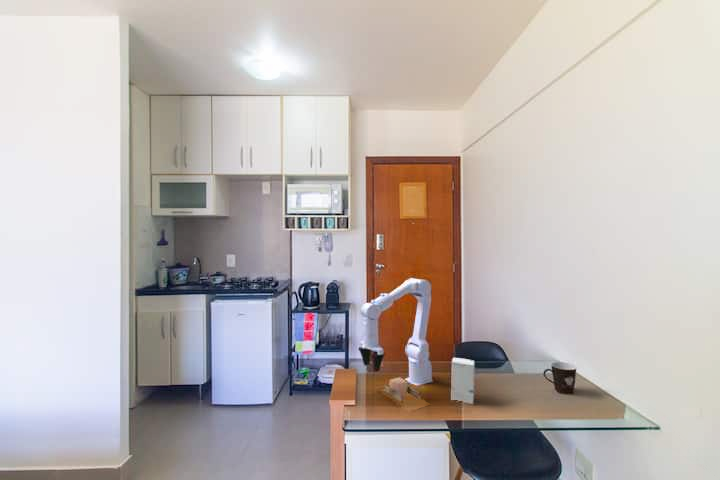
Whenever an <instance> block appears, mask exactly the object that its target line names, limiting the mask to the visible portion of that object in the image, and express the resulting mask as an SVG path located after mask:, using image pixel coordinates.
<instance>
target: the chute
mask: <svg viewBox="0 0 720 480" xmlns="http://www.w3.org/2000/svg"><path fill="white" fill-rule="evenodd" d="M382 385H383V386H382V391H383V390H384V391H386V392H387V393H389V394H390V395H392V396H393V397H394V398H396V399H397V400H399V401H400V402H401V403H403V396H402V395H400V394H398V393H397V392H395V391H394V390H392V389H391V388H390V387H389V386H387V385H386V384H382ZM407 392H408V393H409V394H411V395H412V396H414V397H416V398H419V397H420V392H419V391H418V390H416V388H413V387H411V386H409V385H408V384H407Z"/></svg>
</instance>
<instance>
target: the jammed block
mask: <svg viewBox="0 0 720 480" xmlns="http://www.w3.org/2000/svg"><path fill="white" fill-rule="evenodd" d="M388 383H389V386H388V387H389V388H391V389H392V390H394V391H395V392H397V393H398V394H400V395H404V394H407V385H408V381H406V380H405V379H403V378H402V377H400V376H399V377H396V378H392V379H389V382H388Z"/></svg>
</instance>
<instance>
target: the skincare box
mask: <svg viewBox="0 0 720 480" xmlns="http://www.w3.org/2000/svg"><path fill="white" fill-rule="evenodd" d="M475 363H476V362H475V360H473V359H467V358H461V357H452V359H451V374H450V375H451V376H450V377H451V378H450V379H451V382H450V383H451V384H450V386H451V388H450V389H451V390H450V401H452V400H458V401H457V402H459V401H463V402H462V403H465V402H466V404H469V405H474V400H475V365H476V364H475Z"/></svg>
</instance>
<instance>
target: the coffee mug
mask: <svg viewBox="0 0 720 480" xmlns="http://www.w3.org/2000/svg"><path fill="white" fill-rule="evenodd" d="M550 365H551V369H550V368H546V369H544V371H543V377H544V378H545V379H546V380H547V381H549V382H550V383H552V384H553V385H554V386H553V387H554V391H555V390H556V391H555V392H557V393H559V394H562V395H567V394H571V395H574V392H575V384H576V376H577V375H576V374H577V367H576V365H574V364H572V363H568V362H563V361H554V362H551V364H550ZM547 371H550V372H551V374H552V379H553V381H552V380H551V379H549V378H548V377H547V376H546V373H547Z"/></svg>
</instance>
